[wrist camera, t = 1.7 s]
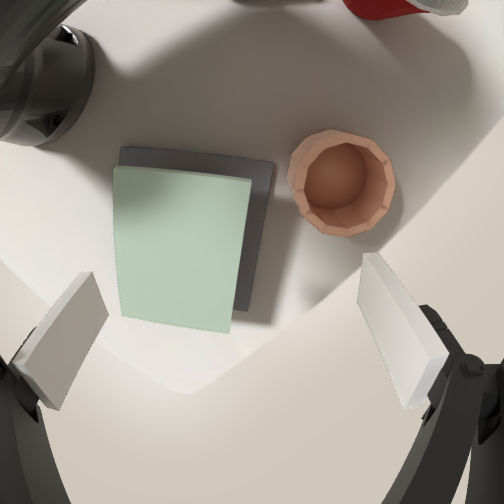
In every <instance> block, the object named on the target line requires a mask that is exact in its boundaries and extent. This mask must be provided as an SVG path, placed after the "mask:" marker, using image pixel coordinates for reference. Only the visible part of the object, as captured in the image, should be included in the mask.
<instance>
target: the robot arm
mask: <svg viewBox="0 0 504 504" xmlns="http://www.w3.org/2000/svg"><path fill="white" fill-rule="evenodd" d="M86 1H87V0H0V141H4V142H9V143H13V144H17V145H22V146H36V145H40V144H44V143H47V142H50V141H53V140H55V139H57V138H58V137H60V136H61V135H63V134H64V133H65V132H66V131H67V130H68V129H69V128H70V127H71V126H72V125H73V124H74V122H75V121H76V120H77V118H78V117H79V115H80V114H81V112H82V110H83V108H84V106H85V104H86V102H87V99H88V97H89V94H90V91H91V87H92V83H93V78H94V55H93V50H92V47H91V44H90V42H89V40H88V39H87V37H86V36H85V35H84V34H83V33H82V32H81V31H79V30H78V29H76V28H73V27H70V26H67V25H64V24H60V23H61V22H63V21H64V20H65V19H66V18H67V17H68V16H69V15H70V14H72V13H73V12H74V11H75V10H76V9H77V8H79V7H80V6H81V5H82V4H83V3H85V2H86ZM357 303H358V305H359V307H360V309H361V311H362V313H363V315H364V317H365V320H366V322H367V324H368V326H369V328H370V331H371V333H372V335H373V337H374V339H375V342H376V344H377V346H378V349H379V351H380V353H381V355H382V358H383V360H384V362H385V365H386V367H387V370H388V372H389V374H390V377H391V379H392V382H393V384H394V386H395V389H396V392H397V394H398V396H399V399H400V401H401V404H402V407H403V409H404V410H406V409H410V408H414V407H417V406H420V405H422V404H423V402H424V400H425V399H426V397H427V396H428V398H429V400H430V402H431V404H430V406H429V408H428V409H427V411H426V412H425V414H424V415H423V417H422V419H423V423H422V425H421V428H420V430H419V432H418V435H417V437H416V439H415V441H414V444H413V446H412V448H411V450H410V452H409V454H408V456H407V458H406V460H405V462H404V464H403V466H402V468H401V470H400V472H399V474H398V476H397V478H396V479H395V481H394V483H393V485H392V487H391V488H390V490H389V492H388V493H387V495H386V497H385V499H384V500H383V502H382V503H381V504H451V502H452V499H453V497H454V495H455V492H456V489H457V487H458V485H459V482H460V479H461V477H462V474H463V471H464V468H465V465H466V462H467V459H468V456H469V453H470V449H471V461H470V473H469V480H468V488H467V494H466V500H465V504H504V359H503V360H502V362H501V364H484V362H483V361H482V360H481V359H480V358H479V357H477V356H475V355H472V354H465V352H464V351H463V349H462V348H461V346H460V345H459V343H458V342H457V340H456V339H455V337H454V336H453V335H452V333H451V332H450V330H449V329H447V326H446V324H445V323H444V322H443V321H442V319H441V317H440V316H439V315H438V313H437V312H436V311H435V310H434V309H432V308H431V307H429V306H428V305H421V306H418V305H417V304H416V302H415V301H414V299H413V298H412V296H411V295H410V294H409V292H408V291H407V289H406V288H405V287H404V285H403V284H402V283H401V281H400V280H399V279H398V277H397V276H396V275H395V273H394V272H393V271H392V269H391V268H390V267H389V265H388V264H387V263H386V262H385V260H384V259H383V258H382V257H381V255H380V254H379V253H378V252H372V253H363V260H362V269H361V277H360V285H359V292H358V300H357ZM108 316H109V314H108V311H107V309H106V307H105V304H104V302H103V299H102V296H101V294H100V291H99V289H98V286H97V283H96V280H95V278H94V275H93V272H81V273H80V274H79V275H78V276H77V277H76V279H75V280H74V281H73V282H72V283H71V284H70V286H69V287H68V288H67V289H66V290H65V292H64V293H63V294H62V295H61V296H60V298H59V299H58V300H57V301H56V303H55V304H54V305H53V306H52V308H51V309H50V310H49V311H48V313H47V314H46V315H45V317H44V318H43V319H42V321H41V322H40V323H39V325H38V326H36V327H35V328H34V329H33V330H32V331H31V333H30V334H29V335H28V337H27V339H25V341H24V342H23V345H21V347H20V348H19V349H18V351H17V352H16V353H15V355H14V357H13V358H12V359H11V361H10V362H9V364H8V365H7V364H6V363H5V361H4V360H3V358H2V357H1V355H0V504H71V503H70V500H69V498H68V496H67V493H66V491H65V488H64V486H63V483H62V481H61V478H60V475H59V472H58V469H57V467H56V464H55V460H54V457H53V454H52V451H51V448H50V444H49V441H48V437H47V434H46V430H45V426H44V422H43V417H42V413H41V409H40V407H39V406H38V405H37V402H38V400H39V399H40V400H41V401H42V402H43V404H44V405H45V406H46V407H47V408H51V409H54V410H57V411H59V410H60V408H61V406H62V403H63V401H64V399H65V397H66V395H67V393H68V391H69V388H70V387H71V385H72V382H73V381H74V379H75V377H76V375H77V373H78V371H79V369H80V366H81V365H82V363H83V361H84V359H85V357H86V355H87V353H88V351H89V350H90V348H91V346H92V344H93V342H94V341H95V339H96V337H97V335H98V333H99V332H100V330H101V328H102V326H103V324H104V323H105V321H106V319H107V317H108ZM471 446H472V447H471Z"/></svg>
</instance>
